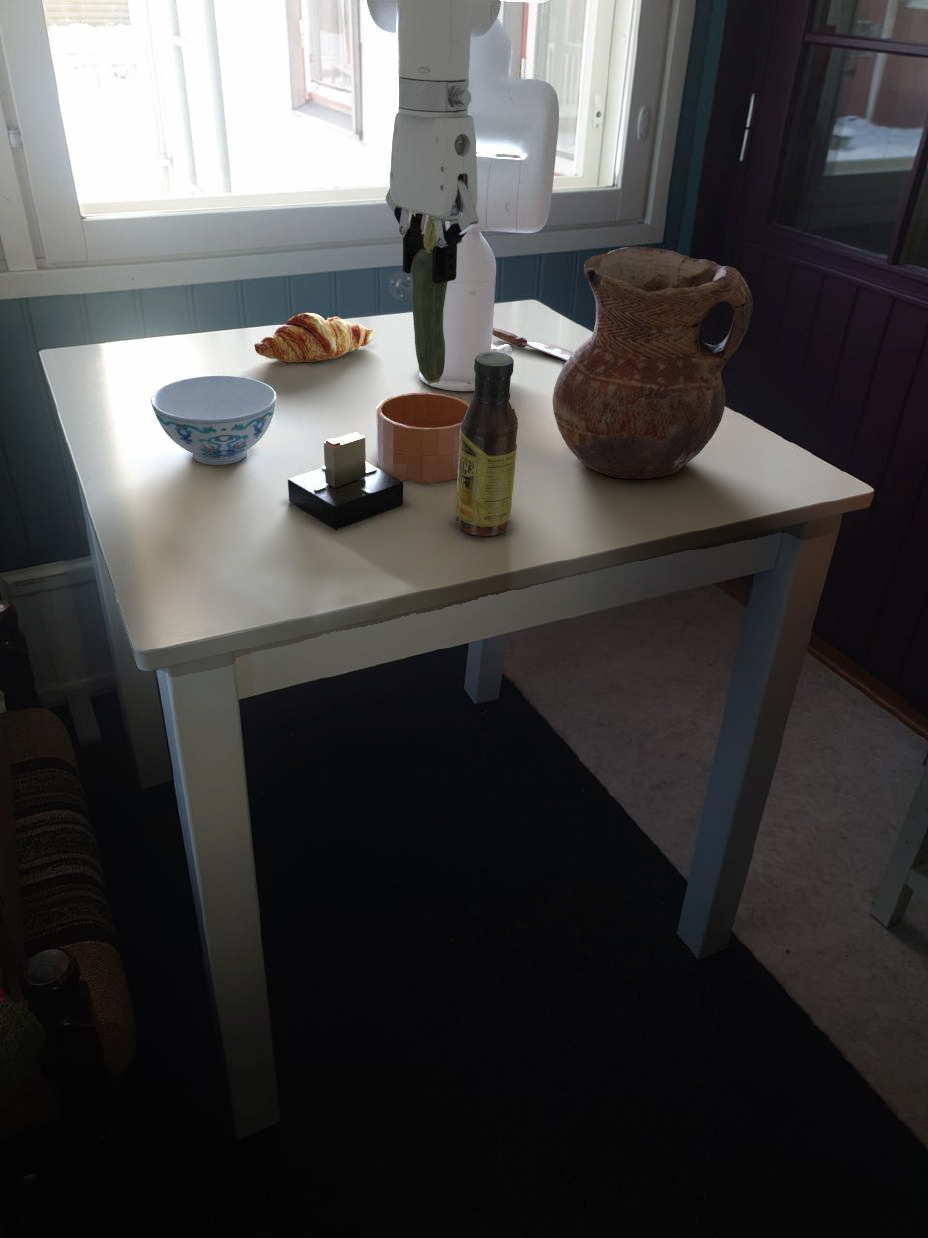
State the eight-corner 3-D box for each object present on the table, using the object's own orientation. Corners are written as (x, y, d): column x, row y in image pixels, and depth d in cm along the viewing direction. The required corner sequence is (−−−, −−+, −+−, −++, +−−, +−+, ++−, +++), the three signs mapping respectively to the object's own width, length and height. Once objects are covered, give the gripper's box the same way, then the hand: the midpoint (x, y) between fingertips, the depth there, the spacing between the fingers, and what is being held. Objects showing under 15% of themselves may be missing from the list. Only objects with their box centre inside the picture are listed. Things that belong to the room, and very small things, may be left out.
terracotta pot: (428, 435, 131) (429, 385, 127) (491, 465, 124) (495, 413, 120) (357, 458, 124) (356, 406, 120) (420, 491, 116) (421, 437, 113)
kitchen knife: (600, 359, 158) (582, 362, 155) (598, 369, 159) (580, 372, 156) (507, 324, 170) (488, 325, 167) (505, 333, 171) (486, 335, 167)
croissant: (364, 359, 166) (353, 312, 164) (392, 346, 157) (381, 297, 156) (250, 377, 155) (237, 327, 153) (274, 365, 146) (260, 311, 145)
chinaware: (178, 428, 129) (170, 372, 125) (289, 434, 129) (286, 378, 125) (144, 476, 117) (134, 416, 113) (267, 482, 117) (262, 422, 112)
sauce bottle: (453, 513, 112) (460, 345, 101) (506, 513, 113) (519, 346, 102) (457, 541, 107) (465, 366, 96) (513, 541, 107) (527, 367, 96)
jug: (567, 496, 117) (591, 286, 103) (530, 429, 134) (547, 240, 120) (739, 490, 120) (785, 286, 107) (682, 425, 138) (714, 242, 124)
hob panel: (356, 479, 119) (355, 455, 117) (403, 504, 113) (403, 480, 112) (288, 502, 113) (287, 477, 111) (335, 530, 107) (334, 505, 106)
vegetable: (440, 393, 117) (444, 219, 105) (405, 389, 117) (406, 215, 106) (448, 380, 120) (453, 210, 109) (414, 377, 121) (416, 207, 109)
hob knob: (356, 471, 113) (355, 430, 110) (366, 477, 112) (365, 435, 109) (325, 482, 111) (323, 440, 108) (334, 488, 109) (333, 445, 107)
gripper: (515, 105, 98) (503, 287, 108) (407, 86, 108) (406, 255, 118) (461, 109, 94) (455, 299, 104) (354, 89, 104) (358, 265, 114)
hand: (429, 274), depth 111 cm, fingers closed on vegetable, 4 cm apart
